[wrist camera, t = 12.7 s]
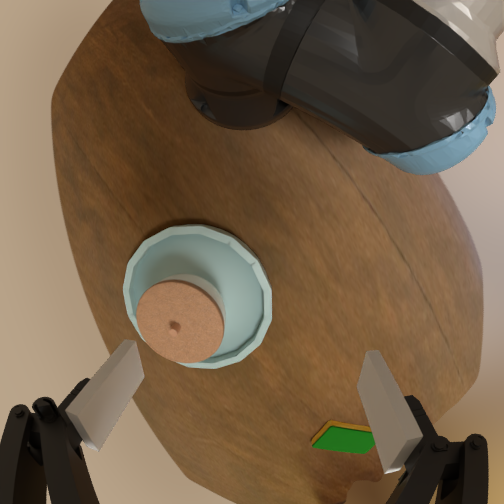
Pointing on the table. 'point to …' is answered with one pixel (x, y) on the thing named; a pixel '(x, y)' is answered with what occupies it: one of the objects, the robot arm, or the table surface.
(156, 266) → the round tray
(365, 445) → the dish sponge
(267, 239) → the table surface
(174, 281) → the lidded jar
